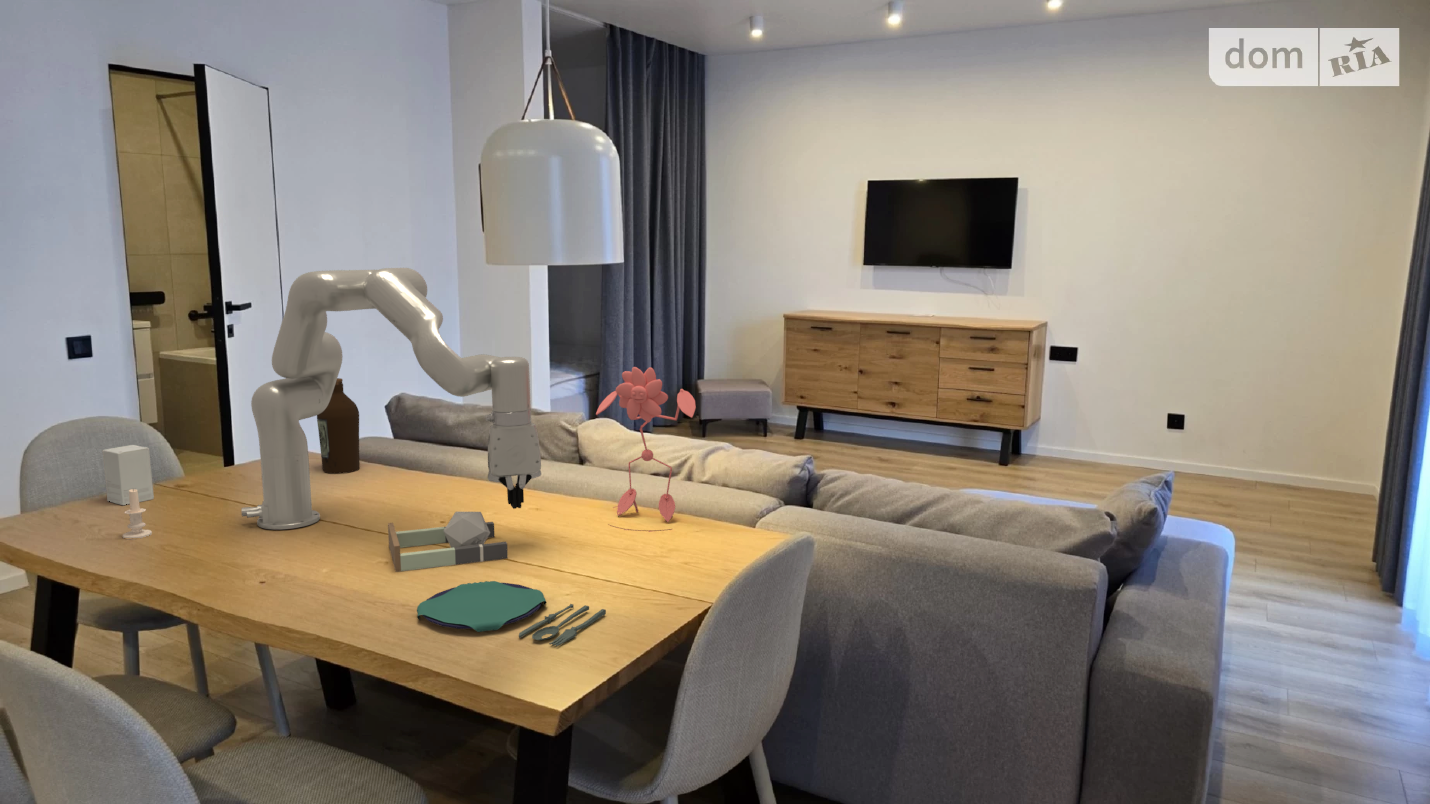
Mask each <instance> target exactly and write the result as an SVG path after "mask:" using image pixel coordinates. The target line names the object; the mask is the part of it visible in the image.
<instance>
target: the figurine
mask: <svg viewBox="0 0 1430 804" xmlns="http://www.w3.org/2000/svg"><path fill="white" fill-rule="evenodd" d="M621 377H622V379H623V383H619V384H618V385H617V386H616V387H615V390H614V391H612V392H610V394H608V395H607V396H606V397H605V398H604V399H603V400H602V401H601V402H600V404H599V406H598V408H597V410H596V413H595V415H596V416H598V415H600V414H601V413H603V412H604V411H605V410H607V409H608V408H609V406H611V405H612V403H614V401H615V399H616V398H617V396H618V397H619V401H618V405H619V407H620V408H621V409H626V414H627V417H628V419H629V420H630V421H635V420H641V419H642V420H643V421H645V422H643V424H641V425H640V428H639V432H640V436H641V439H642V443H643V446H644V450H642V452H641V454H640V456H639V457H637V458H634V459H633V460H631V461H629V462H628V463H627V464H628V475H629V477H628V479H629V489H628V490H626V491H625V492H624V493H623V494H622V495H621V497H620V499H619V501H618V503H617V506H613V507H612V508H613V509H614V508H616V509H617V511H616V513H617V515H616V516H618V517H619V516H621V515H623V514H625V513H626V512H627V511H629V509H630V508H631V507H632V506H633V505H634V509H635V511H636V513H639V509H638V505H637V502H636V498H637V491H636V489H635V488H633V487H632V476H631V464H632V463H634V462H636V461H638V460H640V459H642V460H643V461H645V462H650V461H652V460H653V461H655V462H656V463H657V462H658V463H660V464H662V465H664V466H665V467H668V468H670V470H669V476H668V480H667V481H668V482H667V487H666V488H667V489H666V493H663V494H662V495H661V496H660V498H659V501H658V510H659V513H660V515H661V516H662V518H663V519H664V521H666V522H667V523H669V522H670V520H671V519H672V518H673V517H674V516H673V515H674V513H675V510H676V503H675V502H676V501H675V500H674V498H673V496H672V495H671V494H669V489H670V484H671V478H672V473H673V472H672V471H673V467H672V466H670V465H669V464H666V463H665V462H662V461H660V460H658V459H656V458H654V452H653V451H652V450H651V449H648V447H647V443H646V439H645V435H644V431H643V428H644V427H645V426H646V425H647V424H648V423H650V422H652V419H653V418H656V417H657V418H660V419H666V420H670V421H676V422H677V420H678V418H679V413H680V411H681V413H683V414H685V415H686V416H687V417H690V418H691V419H693V417H694V414H695V411H696V409H697V407H696V400H695V398H694V397H693V395H692V394H691V393H690V392H689V391H688V390H684V389H683V388H680V390H679V392H678V393H677V397H676V402H677V406H676V412H675V416H674V417H672V416H667V415H662V412H663V411H662V408H661V406H660V405H663V404H665V403H666V402H667V401H668V399H669V395H668V394H667V393H666V392H664V391H662V389H663V381H662V380H661V379H660V378H659V379H658V378H657V374H656V372H655V369H654V368H653V367H648V368H647V369H646V370H645V371H642V370H641V369H640V368H638V367H637V366H632V368H631V371H628V370H625V371H623V372H622V373H621ZM607 525H608V526H610V527H614V528H617V529H622V530H623V531H632V529H629V528H624V527H623V528H622V527H618V526H614V525H611V524H610V523H607ZM671 530H673V528H669V529H666V531H671ZM633 531H636V532H648V533H650V532H659V531H661V532H663V531H665V529H657V530H656V529H655V530H645V529H644V530H642V529H641V530H639V529H633Z"/></svg>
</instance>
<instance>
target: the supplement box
mask: <svg viewBox="0 0 1430 804" xmlns="http://www.w3.org/2000/svg"><path fill="white" fill-rule="evenodd" d="M101 452H102V462H103V471H104V472H103V473H104V479H105V488H106V500H107V502H109V501H110V502H109V503H114V504H116V505H121V506H127V505H130V500H129V490H131V489H137V491H138V498H139V503H142V502H146V501H151V500H154V499H155V498H154V497H155V496H154V485H153V475H152V467H151V455H150V448H149V447H146V446H145V447H144V446H141V445H136V444H129V445H123V446H118V447H112V448H111V447H110V448H107V449H102V451H101ZM126 504H127V505H126Z"/></svg>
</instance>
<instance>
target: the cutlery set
mask: <svg viewBox="0 0 1430 804" xmlns="http://www.w3.org/2000/svg"><path fill="white" fill-rule="evenodd" d="M546 604H548V603H547V600H546V598H545V595H544V593H543V592H542V591H541V590H540V589H536V588H532V587H528V586H525V585H522V584H517V583H510V582H509V583H508V582H500V581H495V580H490V581H488V580H485V581H479V582H467V583H462V584H459V585H457V586H454V587H451V588H448V589H446V590H443V591H439V592H437V593H436V594H434V595H432V596H430V597H429V598H427V599H426V600H423V601H422V602H419V604H418V605H417V608H416V612H417V616H416V617H417V620H418V621H419V620H421V617H420V616H422V617H423V618H424V619H425V620H427V621H428V622H429V623H432V624H434V625H437V626H440V627H442V628H443V627H445V628H451V629H457V630H458V629H459V630H474V631H476V632H478V633H481V632H489V631H497V630H499V629H500V628H502V627H503V626H506V625H510V624H514V623H516V622H517V623H518V622H519V621H521V620H524V619H527V618H528V617H530V616H532V615H533V614H535V613H536V612H537V611H538V610H540V608H541V606H546ZM569 609H574V604H572V603H570V604H569V605H567V606H566V607H565V608H563V609H561V610H559V611H557V612H555V613H549V614H548V616H544V619H542V620H539V621H538V622H536V623H534V624H532V625H530V626H529V627H527V628H524V630H522V631H520V632H519V634H518V638H519V639H520V638H522V637H524V636H526V635H528V634H529V633H531V632H533V631H534V630H536V629H538V628H539V627H541V626H543V625H545V624H546V623H548V624H551V621H552V620H555V619H556V617H557V616H558V615H560V614H562V613H564V612H565V611H567V610H569ZM589 610H590V606H589V605H583V606H582V607H580V608H579V609H577V610H575V612H573V613H571V614H570V615H569V616H567V617H566V618H565V619H564V620H563V621H561V622H559V623H558V624H557V625H549V626H545V627H542V628H540V629H538V630H536V631H535V632H534V633H533V634H532V635H531V636H532V637H531V639H532V640H536V641H546V640H550V639H552V638H554V637H555V636H557V634H558V633H559V631H560V628H561V627H562V626H564V625H565V624H567V623H568V622H570V621H571V620H572V619H575V618H576V617H577V616H579V615H581V614H584V613H585V612H587V611H589ZM606 613H607V610H606V609H604V608H602V609H600V610H599V611H598V612H595V613H594V614H593V615H592V616H591V617H589V618H588V619H587V620H585V621H584V622H583V623H580V624H578V625H576V626H571V628H566V629H565V630H564V631H563V632H562V633H561V634H560V635H558V636H557V637H556V638H555V639H554V640H553V641H550V642H549V643H548V645H552V646H555V647H559V646H560V645H561V646H562V645H563V644H564V643H565V642H568V641H570V640H572V639H574V638H576V637H577V634H578V631H579V630H582V629H584V628H587V627H588V626H590V625H591V624H593V623H594V622H596V621H597V620H598V619H601V618H602V617H603V616H605V615H606ZM545 635H549V636H547V637H543V636H545Z"/></svg>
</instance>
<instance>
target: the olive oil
mask: <svg viewBox="0 0 1430 804" xmlns="http://www.w3.org/2000/svg"><path fill="white" fill-rule="evenodd" d="M316 421H317V428H318V430H317V431H318V437H319V438H318V439H319V445H320V447H319V448H320V455H321V467H322V468H321V469H322V472H324V473H326V474H347V473H352V472H355V471H356V472H357V471H358V470H359V469H360V467H361V466H360V465H361V464H360V462H361V460H360V412H359V408H358V406H357V404H356V403H355V402H354V401H353V400H352V399H351V398H350V397H349V396H348V395H347V394H346V393H345V392H344V383H343V378H340V377H339V378H338V377H337V381H336V384H335V387H334V390H333V393H332V396H331V399H330V402H329V404H328V406H327V407H326V409H325V410H324V411H323V412H322V413H320V414H318V415H316Z"/></svg>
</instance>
